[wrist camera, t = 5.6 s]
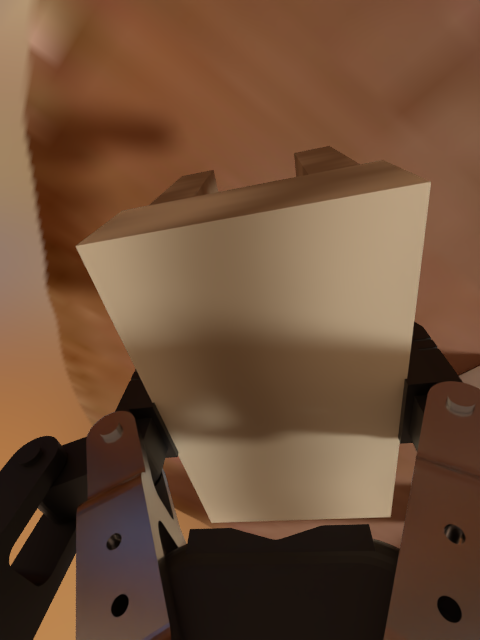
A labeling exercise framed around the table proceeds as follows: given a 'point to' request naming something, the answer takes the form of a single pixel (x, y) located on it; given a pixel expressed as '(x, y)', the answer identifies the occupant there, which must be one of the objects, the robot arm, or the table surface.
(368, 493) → the tan legged block
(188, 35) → the table surface
